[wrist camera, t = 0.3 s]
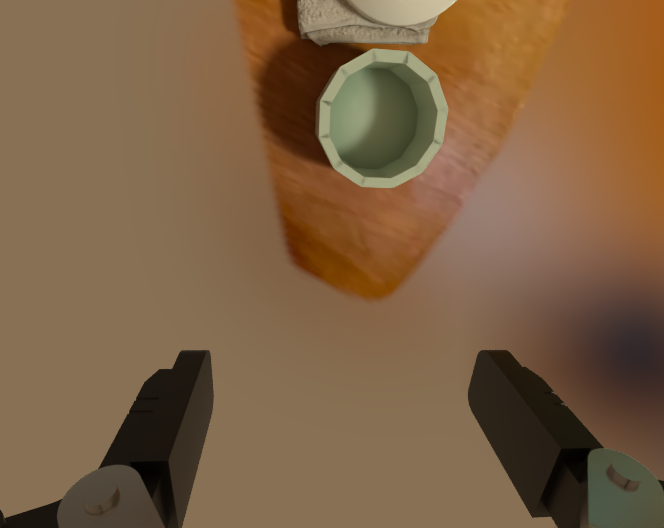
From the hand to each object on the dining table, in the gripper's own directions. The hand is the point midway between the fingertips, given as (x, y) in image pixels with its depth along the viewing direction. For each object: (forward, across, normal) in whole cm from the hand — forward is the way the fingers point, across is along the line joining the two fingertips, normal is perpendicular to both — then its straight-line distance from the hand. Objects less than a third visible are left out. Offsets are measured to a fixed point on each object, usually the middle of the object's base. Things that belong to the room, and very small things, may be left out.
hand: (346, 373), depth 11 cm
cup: (+28, -5, -6) cm, 29 cm away
